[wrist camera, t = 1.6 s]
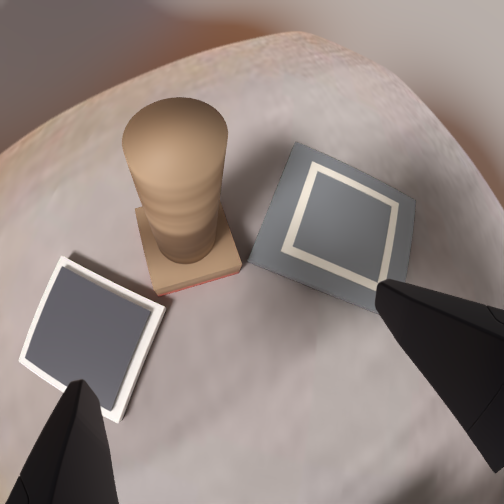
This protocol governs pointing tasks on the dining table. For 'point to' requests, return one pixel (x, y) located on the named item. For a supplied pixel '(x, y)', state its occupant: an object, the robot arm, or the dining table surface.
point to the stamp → (181, 192)
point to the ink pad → (91, 335)
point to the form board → (335, 229)
